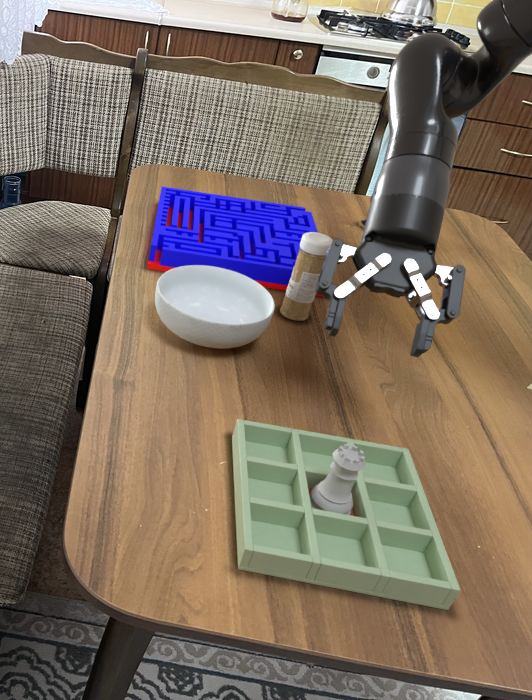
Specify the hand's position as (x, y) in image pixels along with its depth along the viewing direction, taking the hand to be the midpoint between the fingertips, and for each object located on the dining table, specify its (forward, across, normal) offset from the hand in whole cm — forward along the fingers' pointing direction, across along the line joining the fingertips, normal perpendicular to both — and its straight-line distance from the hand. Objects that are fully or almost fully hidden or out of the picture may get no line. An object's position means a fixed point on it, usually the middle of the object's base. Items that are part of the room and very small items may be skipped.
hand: (374, 344), depth 73 cm
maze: (-26, -19, +49) cm, 59 cm away
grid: (+18, 0, +4) cm, 19 cm away
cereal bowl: (-3, -19, +25) cm, 31 cm away
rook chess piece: (+18, 0, +3) cm, 18 cm away
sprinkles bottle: (-12, -6, +34) cm, 36 cm away
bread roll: (-44, +10, +67) cm, 81 cm away
